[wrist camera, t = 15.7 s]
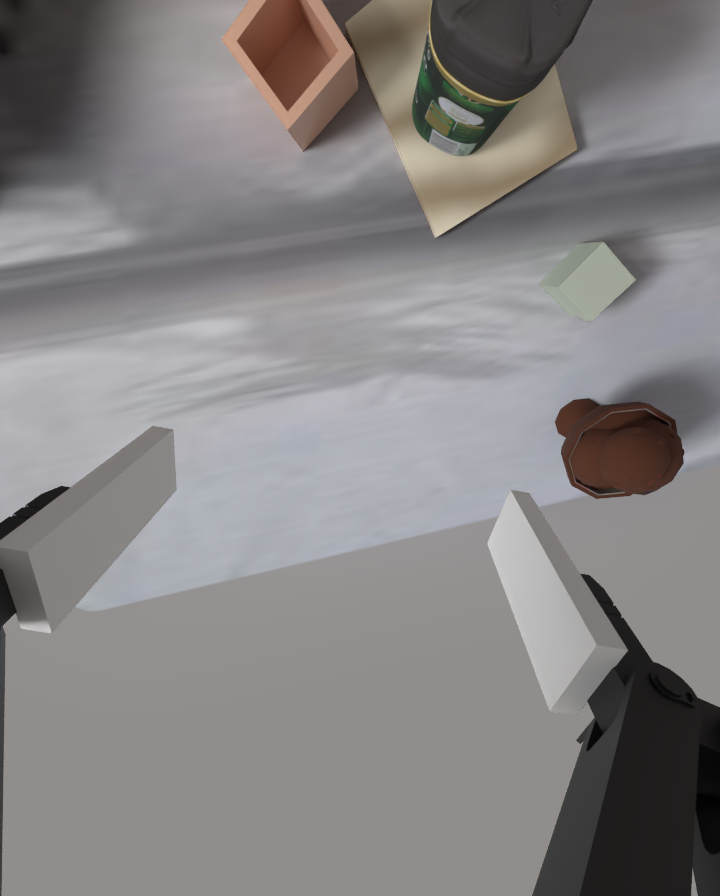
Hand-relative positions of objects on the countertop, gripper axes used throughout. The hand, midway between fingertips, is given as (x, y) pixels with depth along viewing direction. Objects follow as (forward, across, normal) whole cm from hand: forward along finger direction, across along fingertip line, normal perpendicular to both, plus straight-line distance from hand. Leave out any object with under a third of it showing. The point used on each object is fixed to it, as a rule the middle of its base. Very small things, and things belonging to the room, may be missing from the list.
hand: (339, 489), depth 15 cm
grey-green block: (+33, +21, +10) cm, 40 cm away
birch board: (+33, +5, +22) cm, 40 cm away
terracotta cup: (+33, -10, +21) cm, 40 cm away
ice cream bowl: (+33, +28, -5) cm, 43 cm away
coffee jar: (+32, +4, +22) cm, 39 cm away
